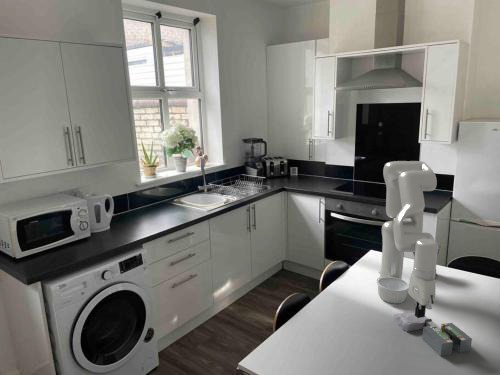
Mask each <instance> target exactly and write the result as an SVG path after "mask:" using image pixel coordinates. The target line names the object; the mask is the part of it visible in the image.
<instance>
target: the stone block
mask: <svg viewBox="0 0 500 375" xmlns="http://www.w3.org/2000/svg"><path fill="white" fill-rule="evenodd" d="M425 319H429V318H428V317H427V316H426V315H425V317H422V318H417V316H415V310H413V309H412V310H407V311H404V312H399V313H394V314H393V322H394V323H395V324H396V325H397V326H398V327H399V328H401V329H402V330H403V331H405V333H408V332H413V331H418V330H423V327H424V326H425Z"/></svg>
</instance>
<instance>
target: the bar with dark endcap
mask: <svg viewBox="0 0 500 375" xmlns="http://www.w3.org/2000/svg"><path fill="white" fill-rule="evenodd" d="M442 324H443V325H442V329H441V326H439V325H437V324H436V323H435V322H434V321H433V319H432V318H428V319H425V326H424V327H426V326H431V325H434V326H435V327H437V329H439V330H440V331H442V332H443V333H444V334H445V335H446V336H447V337H448V338H450V336H449V335H448V334H447V333H445V332H444V331H445V324H444V323H442Z"/></svg>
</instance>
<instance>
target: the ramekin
mask: <svg viewBox="0 0 500 375" xmlns="http://www.w3.org/2000/svg"><path fill="white" fill-rule="evenodd" d="M376 285H377V293H378V297H380V299H381V300H382V301H384V302H387V303H389V304H390V303H391V304H401V303H403V302H405V301H406V300H407V297H408V287H409V282H407V281H405V280H403V279H399V278H395V277H383V278H380V279H379V280H378V282H377V281H376Z"/></svg>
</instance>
